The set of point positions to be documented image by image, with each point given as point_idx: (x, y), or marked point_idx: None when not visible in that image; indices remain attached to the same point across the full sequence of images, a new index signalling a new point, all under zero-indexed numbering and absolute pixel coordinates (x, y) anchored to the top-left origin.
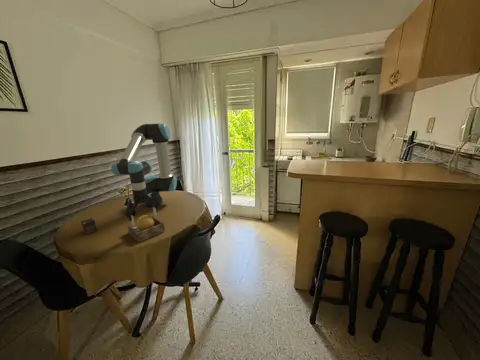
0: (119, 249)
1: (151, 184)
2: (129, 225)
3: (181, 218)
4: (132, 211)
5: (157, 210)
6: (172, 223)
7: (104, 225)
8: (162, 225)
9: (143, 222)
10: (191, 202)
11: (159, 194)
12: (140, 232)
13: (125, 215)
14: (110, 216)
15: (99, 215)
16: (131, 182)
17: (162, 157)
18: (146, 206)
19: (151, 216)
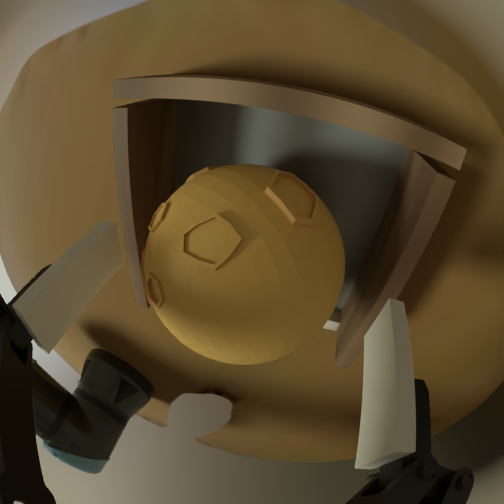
0: None
1: (72, 440)
2: (349, 352)
3: (43, 159)
4: None
5: (36, 274)
6: (88, 145)
7: (336, 418)
8: (140, 77)
9: (293, 248)
10: (11, 252)
11: (79, 382)
12: (426, 135)
13: (472, 484)
14: (277, 430)
15: (292, 445)
16: None
17: None
18: (147, 382)
19: (147, 307)
